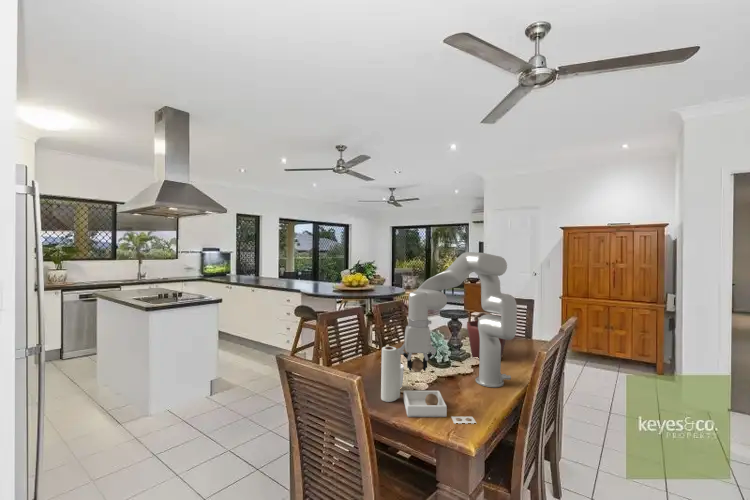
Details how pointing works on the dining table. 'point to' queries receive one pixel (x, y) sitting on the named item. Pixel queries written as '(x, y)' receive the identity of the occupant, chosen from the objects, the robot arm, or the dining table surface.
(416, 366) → the walnut ball
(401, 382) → the white cup
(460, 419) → the card
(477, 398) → the dining table surface
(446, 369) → the dining table surface
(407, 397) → the bin
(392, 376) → the paper towel roll
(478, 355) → the bucket
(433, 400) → the ball
